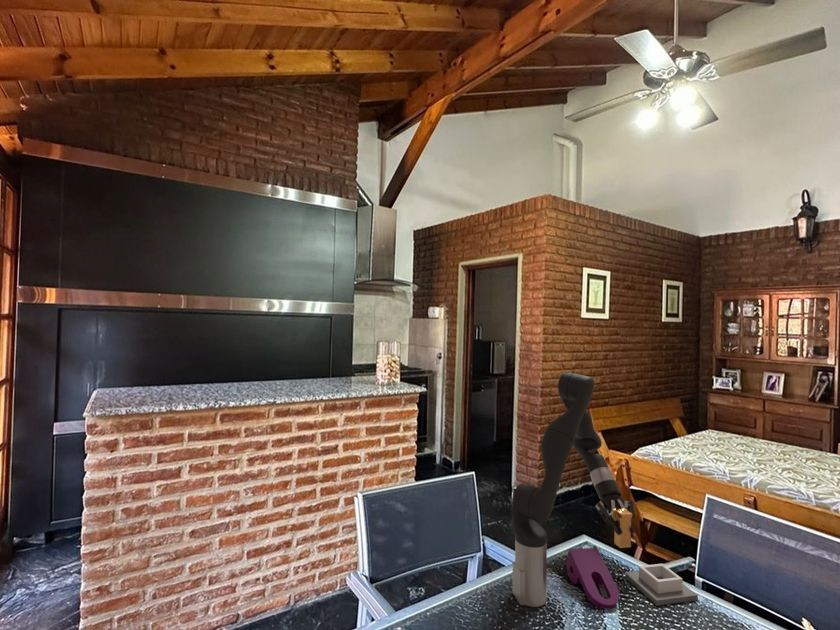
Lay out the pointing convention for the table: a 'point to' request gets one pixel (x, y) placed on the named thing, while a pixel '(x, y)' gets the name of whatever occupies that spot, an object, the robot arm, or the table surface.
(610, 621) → the table surface
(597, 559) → the mounting bracket
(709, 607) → the table surface
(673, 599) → the socket plate
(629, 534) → the locking wedge
